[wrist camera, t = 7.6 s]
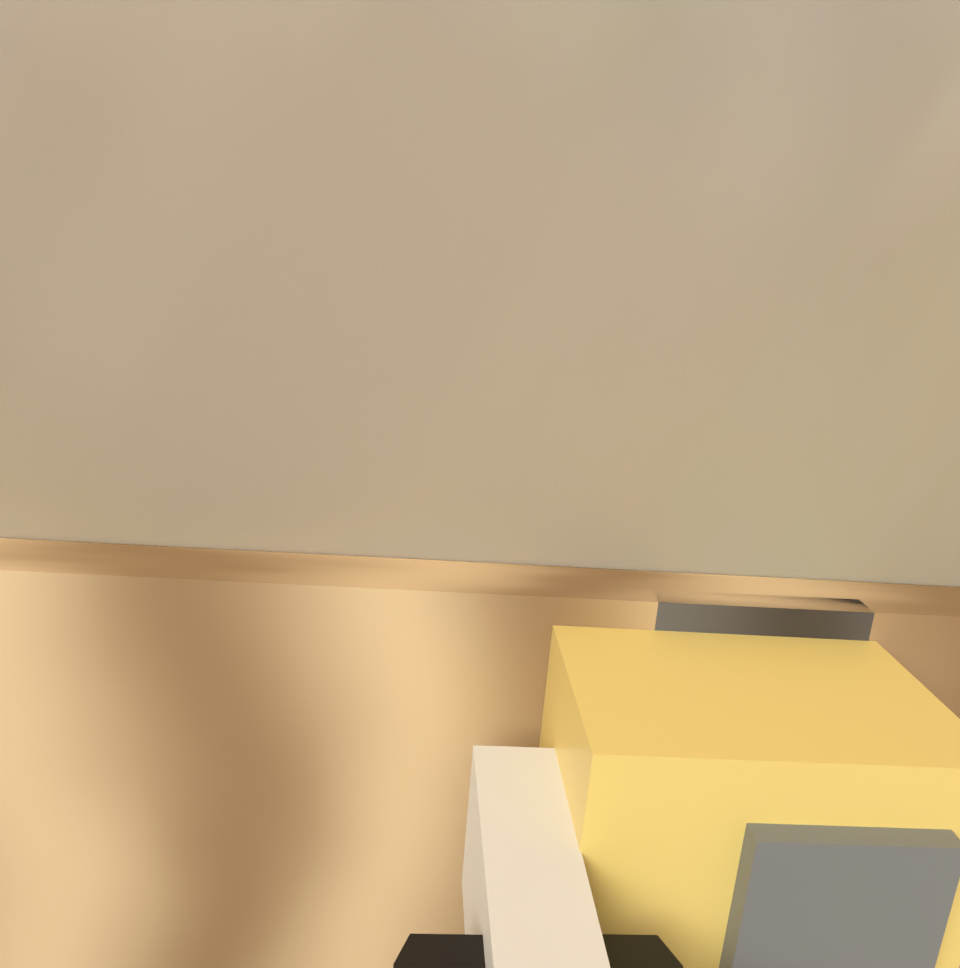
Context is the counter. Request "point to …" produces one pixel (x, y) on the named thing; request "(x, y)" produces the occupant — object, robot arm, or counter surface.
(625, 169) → the counter surface
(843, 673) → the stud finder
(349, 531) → the counter surface
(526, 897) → the robot arm
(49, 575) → the plywood board
